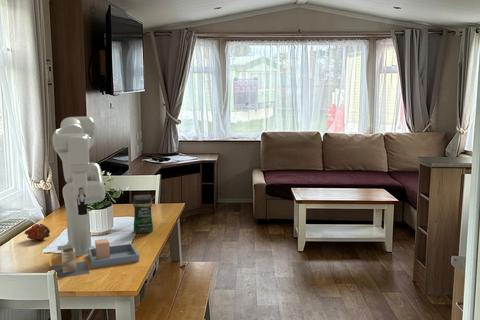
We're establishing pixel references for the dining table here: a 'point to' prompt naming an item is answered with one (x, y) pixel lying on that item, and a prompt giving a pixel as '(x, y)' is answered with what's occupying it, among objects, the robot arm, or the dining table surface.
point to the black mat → (80, 267)
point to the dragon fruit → (38, 232)
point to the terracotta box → (102, 249)
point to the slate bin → (115, 255)
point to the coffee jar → (142, 213)
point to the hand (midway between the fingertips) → (82, 211)
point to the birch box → (68, 260)
